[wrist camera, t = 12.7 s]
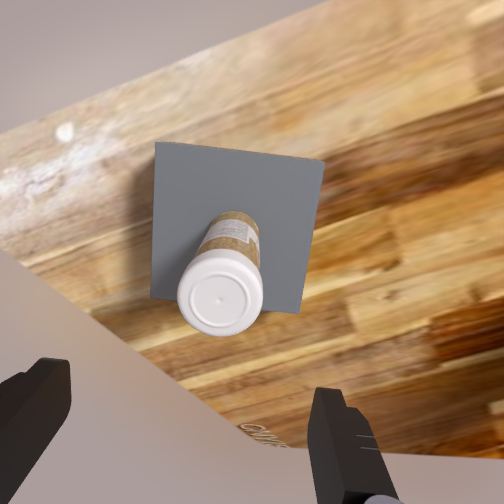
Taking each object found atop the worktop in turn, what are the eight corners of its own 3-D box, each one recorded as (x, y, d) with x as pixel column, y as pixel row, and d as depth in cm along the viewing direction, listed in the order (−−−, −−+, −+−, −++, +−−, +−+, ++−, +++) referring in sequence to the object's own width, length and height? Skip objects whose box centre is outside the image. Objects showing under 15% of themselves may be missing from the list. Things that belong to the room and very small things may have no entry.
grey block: (315, 159, 34) (325, 162, 29) (293, 292, 38) (299, 314, 33) (169, 141, 33) (155, 141, 29) (163, 278, 38) (150, 298, 33)
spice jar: (254, 263, 32) (254, 346, 19) (204, 254, 32) (170, 332, 19) (264, 213, 30) (271, 267, 18) (211, 204, 30) (180, 252, 17)
